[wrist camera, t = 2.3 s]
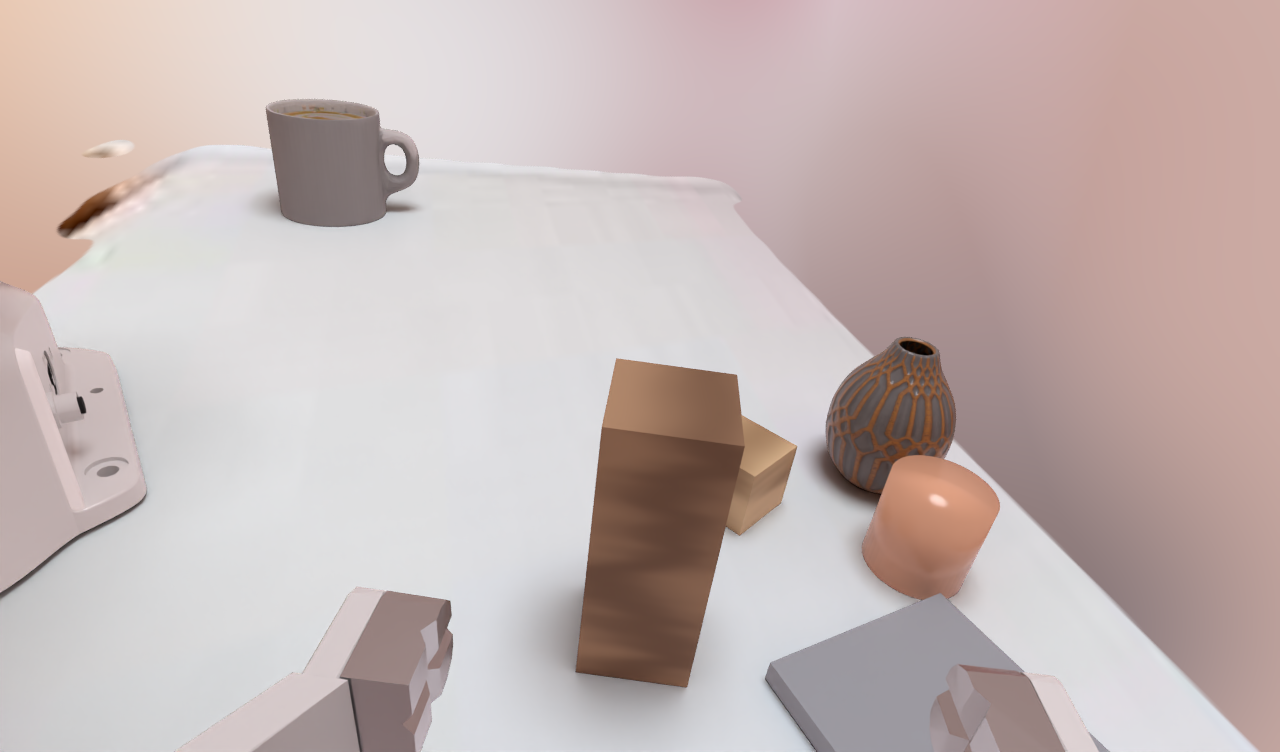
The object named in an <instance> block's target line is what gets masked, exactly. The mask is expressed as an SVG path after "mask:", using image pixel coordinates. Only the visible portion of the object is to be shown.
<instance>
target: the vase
mask: <svg viewBox="0 0 1280 752" xmlns="http://www.w3.org/2000/svg"><path fill="white" fill-rule="evenodd" d="M955 423H956V409H955V403H954V399H953V396H952V393H951V391H950V388H949V386H948V383H947V381H946V379H945V376H944V374H943V372H942V369H941V363H940V354H939V350H938V349H937V348H936V347H935V346H933V345H932V344H930V343H928V342H926V341H923V340H921V339H917V338H912V337H900V338H897V339H896V340H895V341H894V342H893V343H892V344H891V345H890V346H889V347H888V348H887V349H886V350H885V351H883V352H882V353H880V354H879V355H877V356H875V357H873V358H871V359H870V360H868V361H866V362H865V363H863V364H861V365H860V366H858V367H857V368H856V369H854V370H853V371H852V372H851V373H850V374H849V375H848V376H847V377H846V378H845V380H844V381H843V382H842V384H841V385H840V386H839V388H838V390H837V391H836V393H835V395H834V397H833V399H832V402H831V404H830V408H829V411H828V415H827V420H826V443H827V448H828V452H829V454H830V457H831V459H832V461H833V463H834V464H835V466H836V467H837V469H838V470H839V471H840V473H841V474H842V475H843V476H844V477H845V478H846V479H847V480H848V481H850V482H851V483H852V484H854V485H856V486H857V487H859V488H862V489H864V490H867V491H870V492H874V493H879V494H882V492H883V489H884V486H885V484H886V481H887V479H888V476H889V473H890V471H891V468H892V466H893V464H894V463H895V462H896V461H897V460H899V459H900V458H903V457H906V456H912V455H924V456H932V457H937V458H941V459H944V458H945V457H946V455H947V453H948V450H949V448H950V446H951V443H952V440H953V436H954V432H955Z"/></svg>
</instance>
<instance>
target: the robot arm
mask: <svg viewBox="0 0 1280 752" xmlns="http://www.w3.org/2000/svg"><path fill="white" fill-rule="evenodd" d="M146 491H147V487H146V483H145V479H144V475H143V471H142V467H141V463H140V459H139V455H138V451H137V447H136V443H135V439H134V436H133V432H132V428H131V424H130V420H129V416H128V412H127V408H126V404H125V400H124V396H123V392H122V388H121V384H120V380H119V376H118V373H117V369H116V367H115V365H114V363H113V361H112V359H111V357H110V355H109V354H107V353H105V352H101V351H95V350H88V349H79V348H62V347H58V346H57V344H56V341H55V338H54V335H53V333H52V330H51V327H50V325H49V322H48V319H47V317H46V314H45V312H44V309H43V307H42V305H41V303H40V301H39V299H38V298H37V297H36V296H34V295H33V294H31V293H29V292H27V291H25V290H22V289H19V288H17V287H14V286H11V285H9V284H6V283H4V282H1V281H0V593H1V592H2V591H4V590H5V589H7V588H8V587H10V586H11V585H13V584H14V583H16V582H17V581H19V580H20V579H21V578H23V577H24V576H25V575H27V574H28V573H29V572H31V571H32V570H33V569H35V568H36V567H37V566H38V565H40V564H41V563H42V562H43V561H44V560H46V559H47V558H48V557H49V556H51V555H52V554H53V553H54V552H55V551H57V550H58V549H59V548H60V547H62V546H63V545H64V544H66V543H67V542H68V541H70V540H71V539H73V538H74V537H76V536H77V535H79V534H81V533H83V532H85V531H87V530H89V529H91V528H93V527H95V526H97V525H99V524H101V523H103V522H105V521H107V520H109V519H111V518H113V517H115V516H117V515H119V514H121V513H123V512H124V511H126V510H128V509H129V508H131V507H133V506H134V505H136V504H137V503H138V502H139V501H141V500H142V499H143V497H144V496H145V494H146ZM451 616H452V614H451V604H450V601H448V600H444V599H437V598H431V597H424V596H418V595H411V594H405V593H398V592H392V591H384V590H377V589H370V588H363V587H356V588H355V589H354V590H353V591H352V592H350V593H349V594H348V596H347V597H346V599H345V601H344V602H343V604H342V606H341V608H340V609H339V611H338V613H337V614H336V616H335V618H334V620H333V621H332V623H331V625H330V626H329V628H328V630H327V632H326V633H325V635H324V637H323V638H322V640H321V642H320V644H319V645H318V647H317V649H316V650H315V652H314V654H313V655H312V657H311V659H310V661H309V662H308V664H307V666H306V667H305V669H304V671H303V673H293V672H292V673H291V674H289V675H288V676H287V677H285V678H284V679H282V680H281V681H279V682H278V683H276V684H275V685H273V686H272V687H270V688H269V689H267V690H266V691H264V692H263V693H261V694H260V695H258V696H257V697H255V698H254V699H252V700H251V701H249V702H248V703H246V704H245V705H243V706H242V707H240V708H239V709H237V710H236V711H234V712H233V713H231V714H230V715H228V716H227V717H225V718H224V719H222V720H221V721H219V722H218V723H216V724H215V725H213V726H212V727H210V728H209V729H207V730H206V731H204V732H203V733H201V734H200V735H198V736H197V737H195V738H194V739H192V740H191V741H189V742H188V743H186V744H185V745H183V746H182V747H180V748H179V749H177V750H176V751H174V752H421V749H422V746H423V744H424V741H425V738H426V735H427V733H428V730H429V727H430V725H431V722H432V715H431V703H432V702H433V701H434V700H435V699H437V698H438V697H439V696H440V695H441V694H442V692H443V689H444V686H445V683H446V680H447V677H448V672H449V668H450V664H451V659H452V650H453V634H452V633H451V632H450V631H449V630H448V629H447V626H448V624H449V621H450V618H451ZM945 679H946V681H947V684H948V687H949V690H947V691H945V692H944V693H942V694H940V695H938V696H936V699H935V701H934V703H933V706H932V708H931V710H930V724H929V729H930V736H931V743H932V746H933V749H934V752H1099V751H1098V749H1097V747H1096V745H1095V743H1094V742H1093V740H1092V738H1091V736H1090V734H1089V732H1088V731H1087V729H1086V727H1085V725H1084V723H1083V721H1082V720H1081V718H1080V716H1079V714H1078V712H1077V710H1076V709H1075V707H1074V705H1073V703H1072V701H1071V699H1070V698H1069V696H1068V694H1067V692H1066V690H1065V688H1064V687H1063V685H1062V683H1061V682H1060V681H1059V680H1058V679H1057V678H1056V677H1055V676H1049V675H1041V674H1033V673H1026V672H1018V671H1014V670H1005V669H997V668H988V667H979V666H970V665H961V664H957V665H955V666H954V667H952V668H951V669H950V671H949V673H948V675H947V677H946V678H945Z"/></svg>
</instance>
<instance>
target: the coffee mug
mask: <svg viewBox="0 0 1280 752" xmlns="http://www.w3.org/2000/svg"><path fill="white" fill-rule="evenodd" d="M266 114H267V120H268V127H269V133H270V139H271V147H272V153H273V160H274V166H275V173H276V179H277V186H278V192H279V199H280V205H281V212H282V214H283V215H284V216H285V217H286V218H288V219H290V220H292V221H295V222H298V223H303V224H307V225H314V226H328V227H341V226H354V225H361V224H366V223H370V222H373V221H376V220H379V219H380V218H382V217H383V216H384V215H385V214H386V200H387V198H388V196H390V195H391V194H393V193H395V192H398V191H401V190H403V189H405V188H407V187H409V186H411V185H412V184H413V183H414V181H415V180H416V178H417V175H418V170H419V155H418V151H417V148H416V145H415V143H414V141H413V140H412V139H411V138H410V137H409V136H408V135H406V134H404V133H402V132H399V131H396V130H388V129H382V128H381V127H380V119H379V112H378V111H377V110H376V109H375V108H372V107H369V106H366V105H362V104H358V103H352V102H346V101H337V100H323V99H293V100H282V101H276V102H273V103H270V104H268V105H267V106H266ZM391 144H395V145H398V146H400V147H401V148H402V149H403V151H404V153H405V156H406V162H407V164H406V169H405V171H404V173H403V174H401V175H393V174H391V173H389V171H388V170H387V168H386V166H385V163H384V153H385V149H386V148H387V146H389V145H391Z"/></svg>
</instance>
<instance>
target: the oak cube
mask: <svg viewBox="0 0 1280 752" xmlns="http://www.w3.org/2000/svg"><path fill="white" fill-rule="evenodd" d="M741 416H742V415H741ZM742 425H743V434H744V443H745V448H744V452H743V456H742V460H741V465H740V469H739V473H738V477H737V481H736V485H735V490H734V494H733V498H732V502H731V506H730V510H729V514H728V519H727V523H726V527H728V528H729V529H730V530H732V531H733V532H735V533H736V534H738V535H739V536H740V535H741V534H742V533H744V532H745V531H746V530H747V529H749V528H750V527H751V526H752V525H754V524H755V523H756V522H757V521H759V520H760V519H761V518H762V517H764V516H765V515H766V514H767V513H769V512H770V511H771V510H773V509H774V508H775V507H776V506H778V505H779V504H780V503H781V501H782V498H783V494H784V491H785V487H786V484H787V480H788V477H789V473H790V470H791V467H792V463H793V460H794V456H795V453H796V449H797V446H796V445H794V444H792V443H791V442H789V441H787V440H785V439H783V438H782V437H780V436H778V435H776V434H774V433H773V432H771V431H769V430H767V429H765V428H764V427H762V426H760V425H758V424H756V423H755V422H753V421H751V420H749V419H747V418H746V417H744V416H742Z"/></svg>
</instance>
